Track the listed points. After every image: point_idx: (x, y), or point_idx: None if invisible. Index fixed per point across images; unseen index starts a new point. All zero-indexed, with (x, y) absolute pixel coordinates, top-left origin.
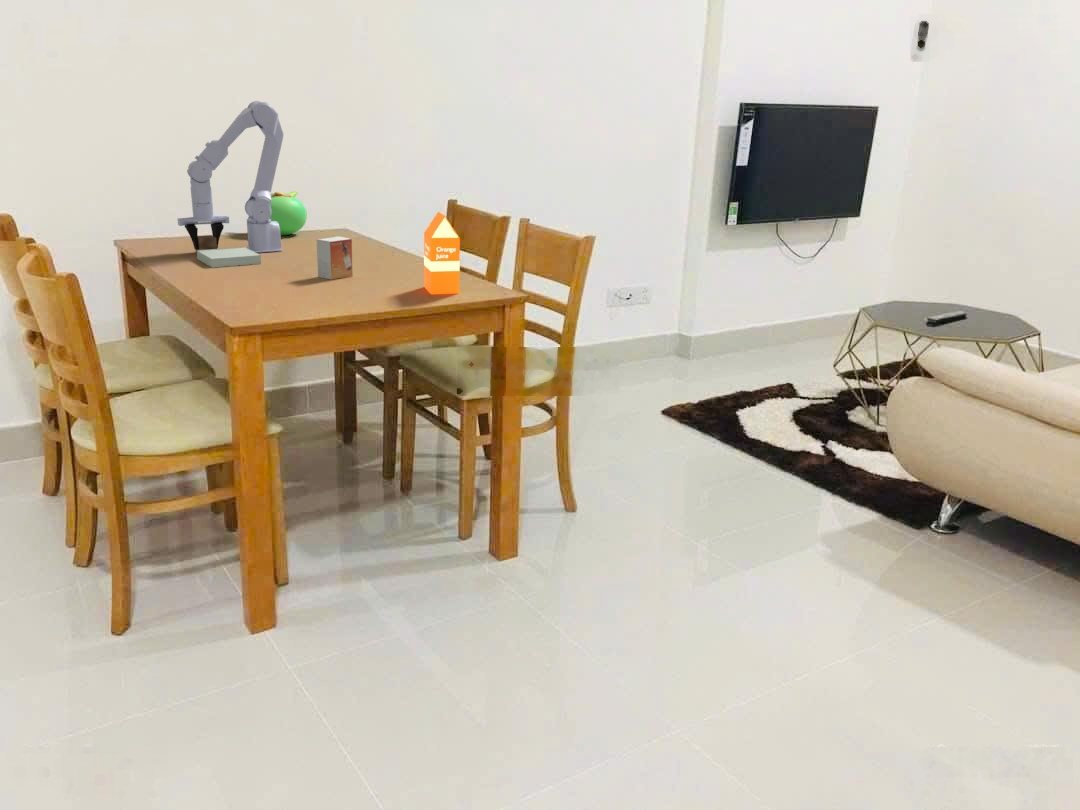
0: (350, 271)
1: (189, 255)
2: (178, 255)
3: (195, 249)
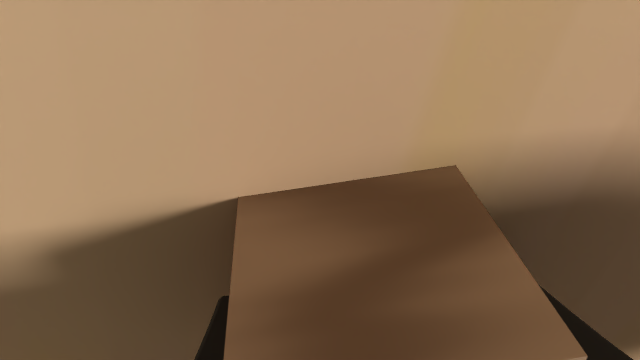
0: None
1: (163, 332)
2: (39, 320)
3: (236, 224)
